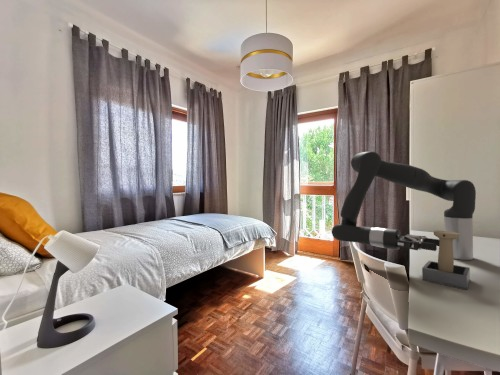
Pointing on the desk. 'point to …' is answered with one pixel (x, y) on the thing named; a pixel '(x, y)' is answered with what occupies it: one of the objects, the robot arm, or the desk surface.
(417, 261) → the desk surface
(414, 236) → the robot arm
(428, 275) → the grey square tray
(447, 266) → the handle
